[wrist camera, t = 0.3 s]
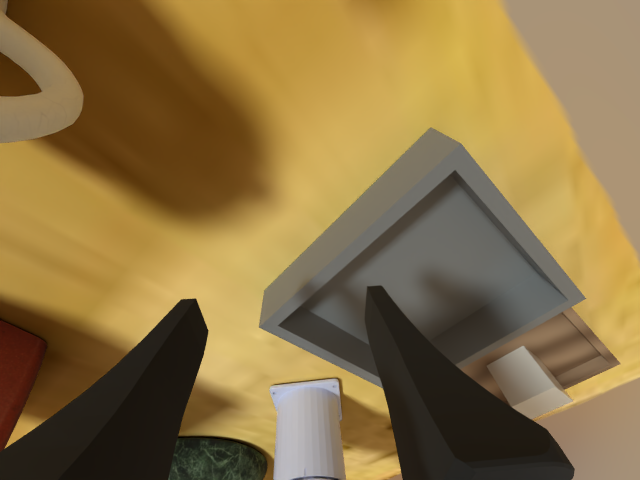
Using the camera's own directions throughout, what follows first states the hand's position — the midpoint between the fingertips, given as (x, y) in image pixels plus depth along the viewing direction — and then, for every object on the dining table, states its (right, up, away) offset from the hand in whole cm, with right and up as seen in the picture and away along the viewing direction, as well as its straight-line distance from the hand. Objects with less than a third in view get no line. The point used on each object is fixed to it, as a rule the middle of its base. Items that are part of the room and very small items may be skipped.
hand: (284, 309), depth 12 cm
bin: (+9, 0, +13) cm, 16 cm away
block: (+24, -11, +20) cm, 33 cm away
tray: (+24, -11, +21) cm, 33 cm away
